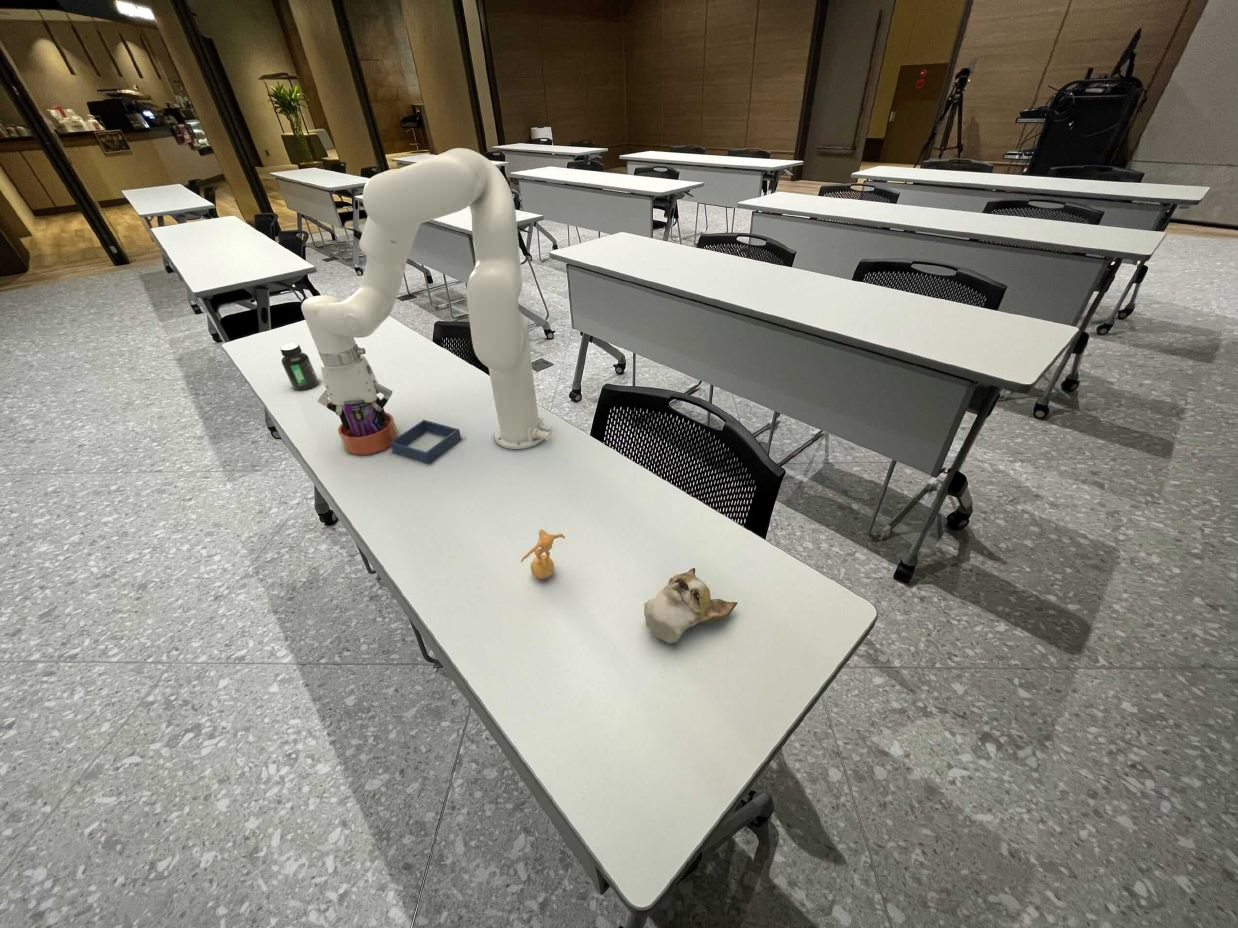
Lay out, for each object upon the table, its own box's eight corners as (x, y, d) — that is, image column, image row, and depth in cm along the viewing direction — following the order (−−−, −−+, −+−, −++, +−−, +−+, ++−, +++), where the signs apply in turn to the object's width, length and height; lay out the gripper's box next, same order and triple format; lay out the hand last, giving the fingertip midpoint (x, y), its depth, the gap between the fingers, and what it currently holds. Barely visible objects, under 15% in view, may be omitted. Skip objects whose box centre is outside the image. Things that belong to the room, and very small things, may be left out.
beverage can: (377, 449, 119) (360, 405, 112) (350, 446, 120) (332, 402, 113) (393, 433, 124) (378, 390, 117) (368, 430, 126) (351, 388, 119)
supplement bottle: (309, 391, 144) (292, 352, 137) (288, 390, 145) (270, 351, 138) (324, 380, 150) (308, 342, 143) (303, 379, 151) (287, 341, 144)
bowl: (409, 434, 125) (404, 417, 122) (371, 461, 116) (364, 443, 113) (373, 424, 129) (367, 407, 126) (334, 449, 120) (326, 431, 117)
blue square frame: (461, 439, 122) (459, 429, 121) (429, 464, 114) (426, 453, 113) (426, 429, 126) (423, 419, 125) (393, 453, 118) (389, 442, 117)
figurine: (557, 556, 91) (550, 506, 83) (576, 576, 87) (571, 525, 80) (517, 579, 86) (506, 529, 79) (535, 601, 83) (526, 550, 75)
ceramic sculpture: (625, 583, 74) (695, 540, 82) (623, 621, 79) (689, 577, 87) (676, 631, 67) (747, 580, 75) (670, 670, 72) (737, 617, 80)
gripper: (385, 345, 113) (406, 413, 124) (303, 352, 111) (332, 421, 122) (378, 358, 107) (401, 429, 118) (291, 366, 105) (323, 437, 116)
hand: (366, 424), depth 120 cm, fingers closed on beverage can, 6 cm apart
